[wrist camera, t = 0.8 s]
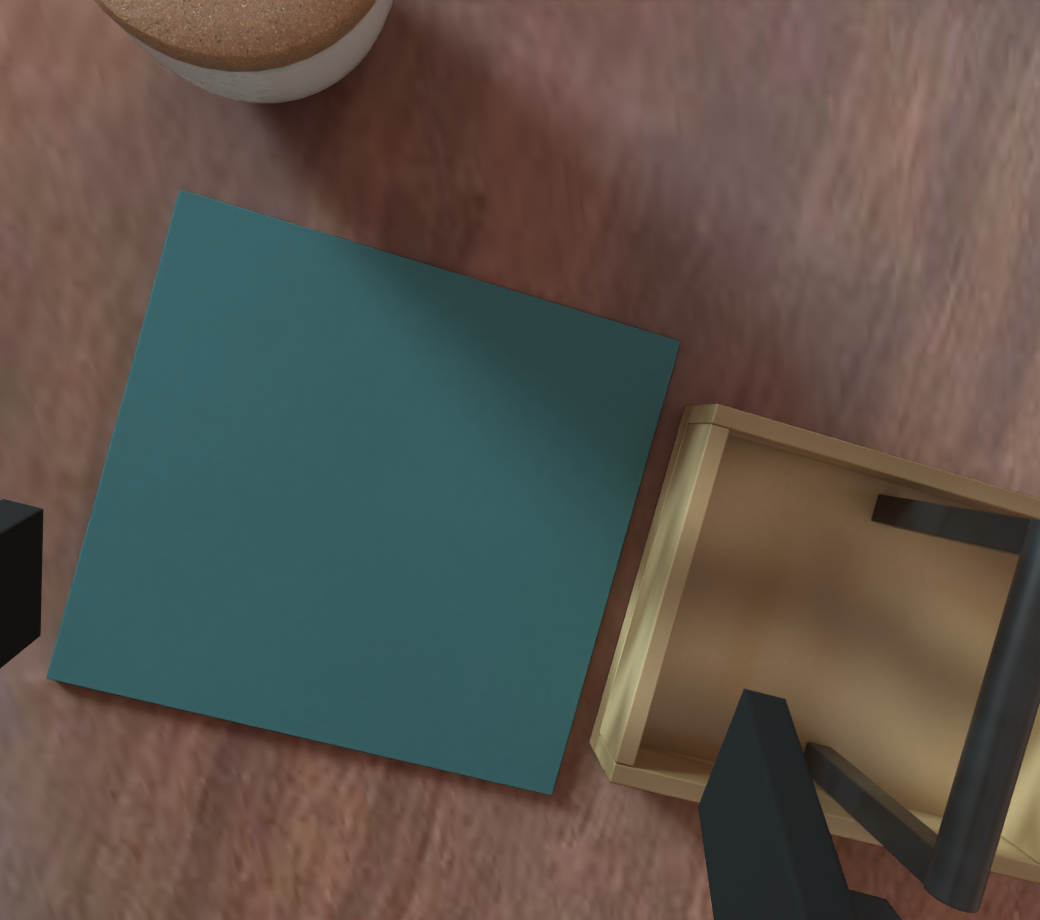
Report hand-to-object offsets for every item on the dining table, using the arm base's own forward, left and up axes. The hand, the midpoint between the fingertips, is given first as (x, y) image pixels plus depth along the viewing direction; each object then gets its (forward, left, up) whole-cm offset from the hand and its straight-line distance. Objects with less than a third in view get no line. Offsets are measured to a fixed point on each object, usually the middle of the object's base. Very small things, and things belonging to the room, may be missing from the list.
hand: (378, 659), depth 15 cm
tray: (+1, -19, -19) cm, 27 cm away
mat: (+1, +2, -19) cm, 19 cm away
